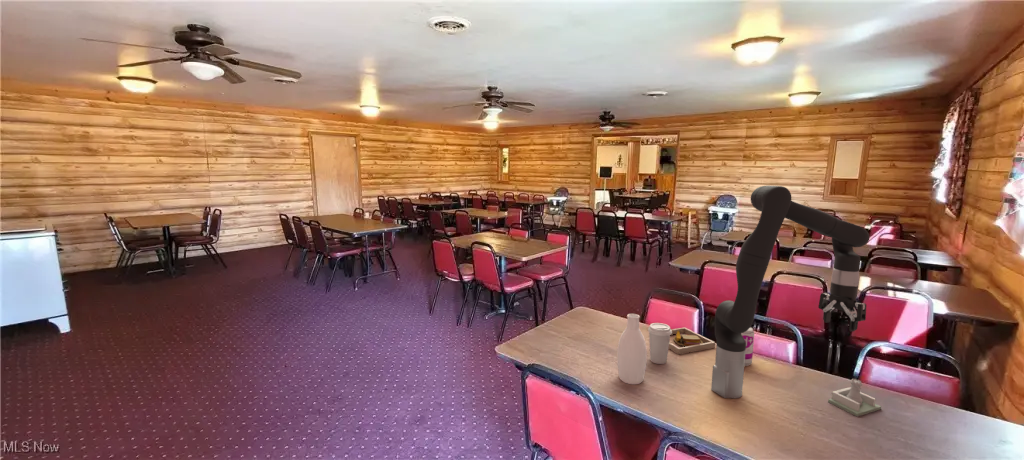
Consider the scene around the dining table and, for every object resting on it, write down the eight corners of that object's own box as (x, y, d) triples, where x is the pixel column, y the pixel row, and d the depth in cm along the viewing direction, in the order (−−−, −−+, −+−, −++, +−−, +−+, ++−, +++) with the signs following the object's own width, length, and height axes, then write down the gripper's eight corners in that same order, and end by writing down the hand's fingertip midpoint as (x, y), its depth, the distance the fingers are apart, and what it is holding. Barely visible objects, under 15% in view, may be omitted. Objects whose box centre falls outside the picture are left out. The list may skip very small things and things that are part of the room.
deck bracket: (857, 416, 135) (858, 406, 134) (828, 402, 143) (829, 392, 143) (880, 409, 139) (882, 399, 138) (851, 395, 147) (852, 386, 147)
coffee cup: (645, 363, 172) (647, 329, 170) (647, 353, 181) (648, 321, 179) (670, 367, 169) (672, 332, 167) (670, 357, 178) (672, 324, 175)
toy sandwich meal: (701, 339, 196) (702, 330, 196) (704, 351, 184) (705, 341, 183) (673, 336, 201) (673, 326, 200) (674, 347, 188) (674, 337, 187)
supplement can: (754, 367, 168) (757, 332, 166) (732, 365, 170) (735, 330, 168) (747, 358, 176) (750, 324, 174) (726, 356, 178) (729, 323, 176)
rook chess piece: (842, 399, 143) (844, 377, 142) (853, 398, 144) (856, 376, 142) (853, 406, 139) (856, 384, 138) (866, 405, 139) (868, 383, 138)
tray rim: (678, 354, 180) (679, 349, 180) (650, 337, 198) (650, 332, 198) (714, 347, 187) (715, 342, 187) (684, 332, 205) (684, 327, 204)
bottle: (651, 378, 160) (654, 315, 157) (637, 389, 152) (640, 323, 148) (624, 369, 168) (626, 308, 164) (610, 379, 160) (612, 315, 156)
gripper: (816, 277, 151) (811, 320, 153) (859, 288, 137) (853, 335, 140) (831, 276, 153) (826, 318, 155) (875, 286, 140) (869, 332, 142)
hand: (839, 326), depth 147 cm, fingers open, 8 cm apart
